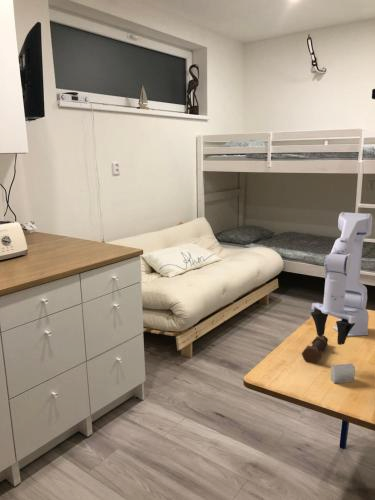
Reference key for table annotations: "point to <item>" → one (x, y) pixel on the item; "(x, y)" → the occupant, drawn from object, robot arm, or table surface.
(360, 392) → the table surface
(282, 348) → the table surface
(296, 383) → the table surface
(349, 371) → the block
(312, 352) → the bolt
